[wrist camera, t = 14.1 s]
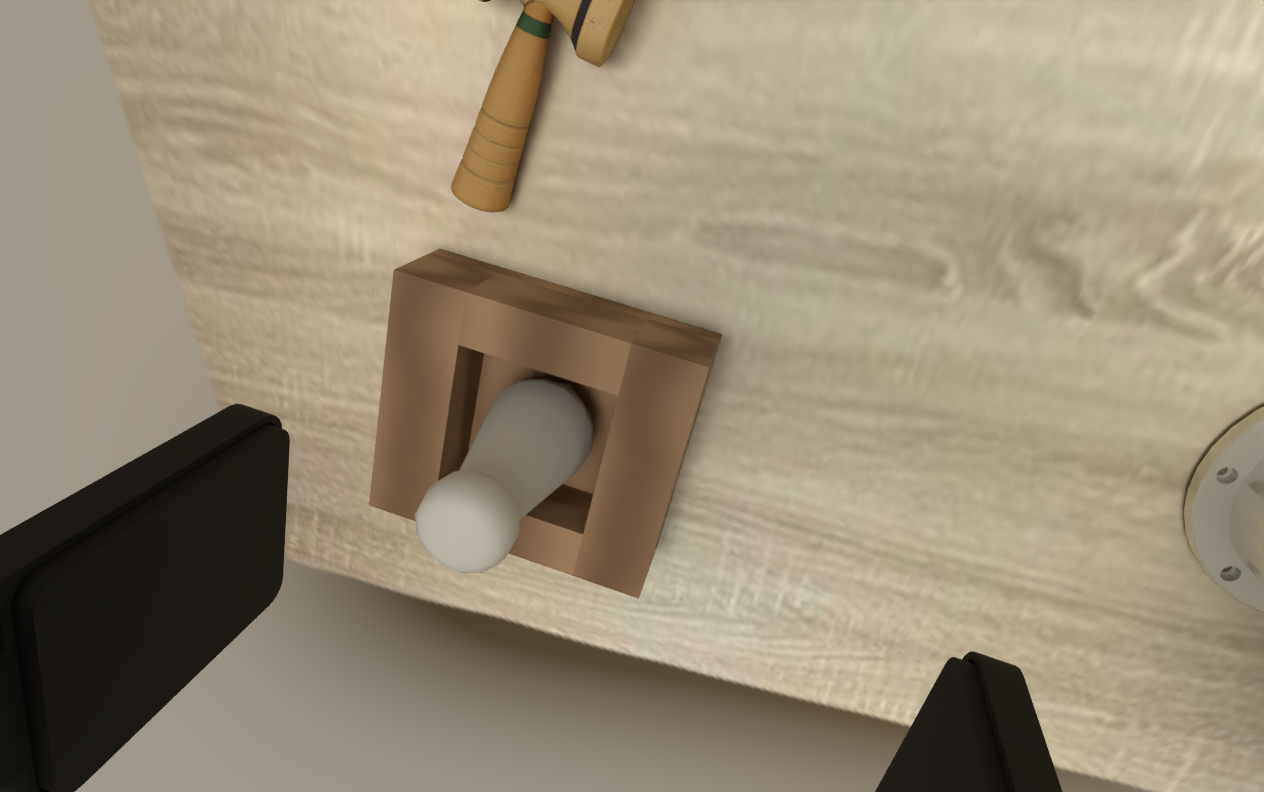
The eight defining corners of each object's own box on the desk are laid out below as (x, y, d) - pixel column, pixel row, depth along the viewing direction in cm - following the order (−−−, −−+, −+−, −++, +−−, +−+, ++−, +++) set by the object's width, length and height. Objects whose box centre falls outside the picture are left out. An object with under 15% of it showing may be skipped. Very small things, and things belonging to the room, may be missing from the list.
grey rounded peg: (573, 477, 44) (485, 622, 33) (489, 425, 44) (370, 550, 33) (622, 401, 42) (545, 528, 30) (532, 345, 42) (421, 450, 30)
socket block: (721, 334, 40) (709, 367, 36) (656, 547, 46) (638, 598, 42) (439, 248, 42) (393, 269, 38) (411, 464, 48) (369, 505, 43)
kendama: (578, 224, 41) (729, -160, 31) (512, 252, 36) (667, -196, 26) (465, 152, 43) (575, -238, 33) (386, 170, 38) (487, -287, 27)
